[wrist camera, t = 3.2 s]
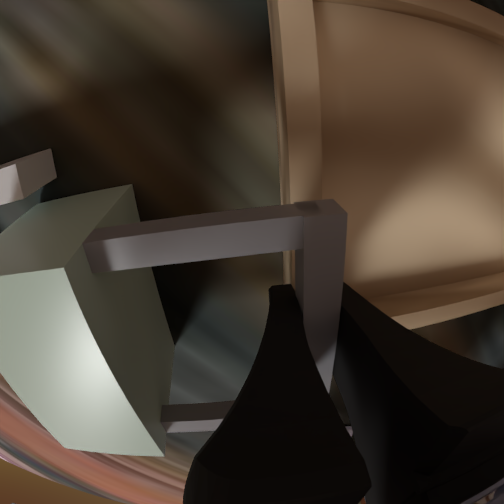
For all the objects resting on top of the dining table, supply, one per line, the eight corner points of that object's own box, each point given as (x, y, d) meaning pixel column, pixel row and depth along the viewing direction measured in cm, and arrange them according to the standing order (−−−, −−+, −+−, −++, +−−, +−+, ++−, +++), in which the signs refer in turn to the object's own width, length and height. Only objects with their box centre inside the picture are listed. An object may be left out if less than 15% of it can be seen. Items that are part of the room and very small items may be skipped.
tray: (519, 274, 15) (538, 291, 13) (284, 320, 14) (291, 350, 13) (547, 56, 8) (572, 59, 6) (264, -20, 8) (273, -41, 6)
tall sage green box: (296, 164, 11) (366, 232, 6) (298, 332, 15) (331, 438, 10) (37, 203, 11) (-52, 282, 5) (95, 350, 14) (64, 447, 9)
